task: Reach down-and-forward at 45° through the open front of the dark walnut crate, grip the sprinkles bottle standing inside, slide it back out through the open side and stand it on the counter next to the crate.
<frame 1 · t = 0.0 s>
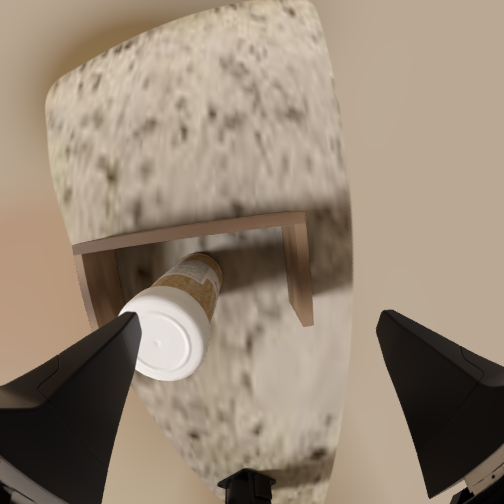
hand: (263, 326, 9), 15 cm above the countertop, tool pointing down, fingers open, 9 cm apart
sprinkles bottle: (198, 275, 25), on the countertop
walnut crate: (198, 276, 25), on the countertop
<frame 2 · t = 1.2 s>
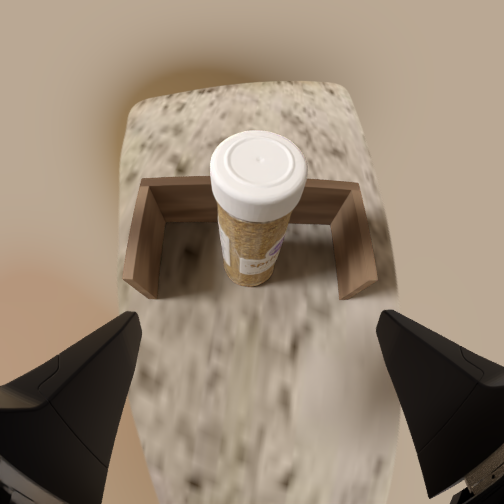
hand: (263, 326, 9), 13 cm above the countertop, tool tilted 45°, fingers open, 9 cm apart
sprinkles bottle: (248, 263, 24), on the countertop
walnut crate: (249, 262, 24), on the countertop
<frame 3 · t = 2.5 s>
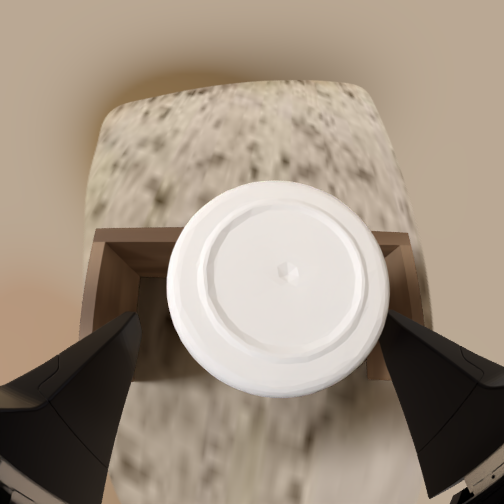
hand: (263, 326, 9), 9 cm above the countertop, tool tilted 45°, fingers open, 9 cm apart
sprinkles bottle: (252, 337, 17), on the countertop
walnut crate: (252, 337, 17), on the countertop
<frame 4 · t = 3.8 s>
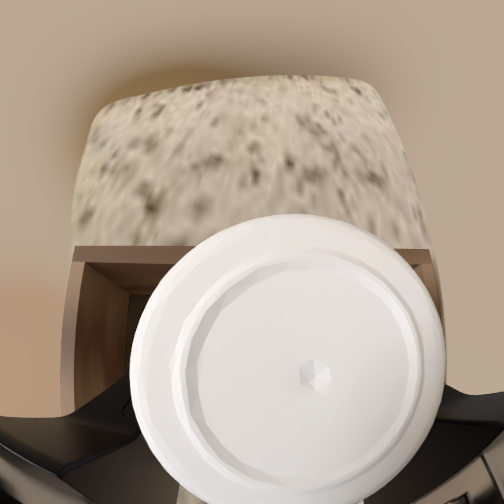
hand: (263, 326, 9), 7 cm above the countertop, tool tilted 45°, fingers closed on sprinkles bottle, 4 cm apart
sprinkles bottle: (253, 362, 15), on the countertop, touching gripper
walnut crate: (253, 362, 15), on the countertop
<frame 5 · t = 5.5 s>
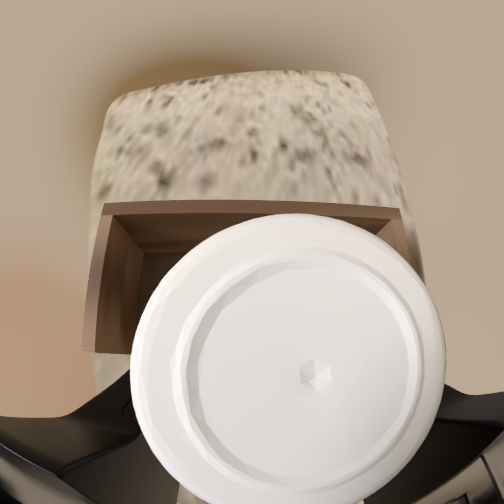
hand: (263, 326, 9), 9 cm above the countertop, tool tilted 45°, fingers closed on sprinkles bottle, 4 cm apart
sprinkles bottle: (253, 361, 15), point 2 cm above the countertop, touching gripper
walnut crate: (251, 309, 18), on the countertop
when the fingers open (8 cm above the countertop, at t = 7.4 s): sprinkles bottle stays where it is, on the countertop.
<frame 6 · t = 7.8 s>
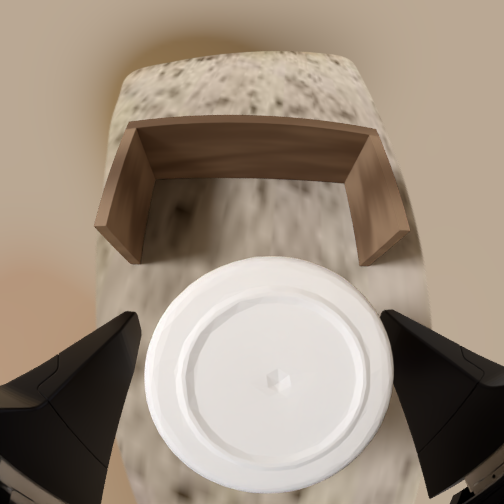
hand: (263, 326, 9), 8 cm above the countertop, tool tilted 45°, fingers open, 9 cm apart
sprinkles bottle: (249, 363, 16), on the countertop
walnut crate: (251, 220, 20), on the countertop
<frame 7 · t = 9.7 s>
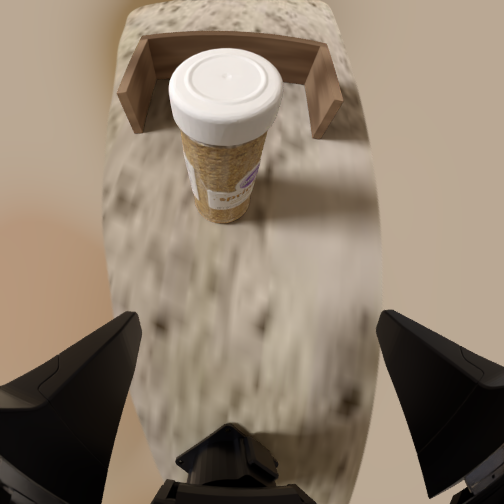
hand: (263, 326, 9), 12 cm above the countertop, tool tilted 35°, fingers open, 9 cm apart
sprinkles bottle: (222, 198, 22), on the countertop
walnut crate: (228, 103, 24), on the countertop
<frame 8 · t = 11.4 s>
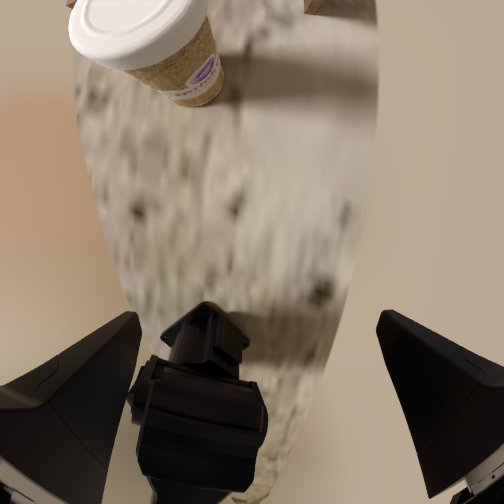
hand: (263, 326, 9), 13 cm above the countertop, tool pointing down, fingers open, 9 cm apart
sprinkles bottle: (194, 80, 17), on the countertop
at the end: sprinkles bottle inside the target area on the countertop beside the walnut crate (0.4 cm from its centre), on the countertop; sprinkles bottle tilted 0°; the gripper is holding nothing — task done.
